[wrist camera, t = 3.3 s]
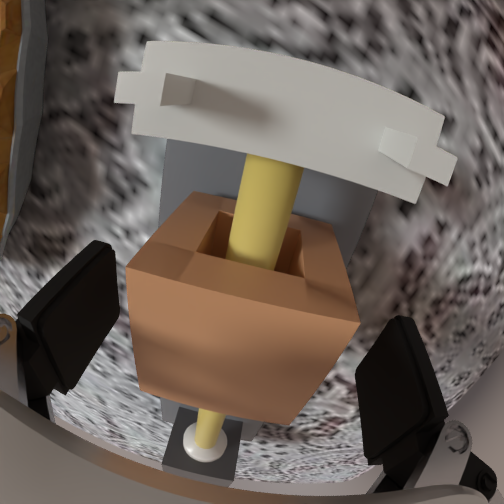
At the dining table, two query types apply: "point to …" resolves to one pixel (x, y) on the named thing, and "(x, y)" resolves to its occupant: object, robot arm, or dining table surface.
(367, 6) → the dining table surface
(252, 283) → the sleeve
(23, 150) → the pie
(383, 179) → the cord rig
